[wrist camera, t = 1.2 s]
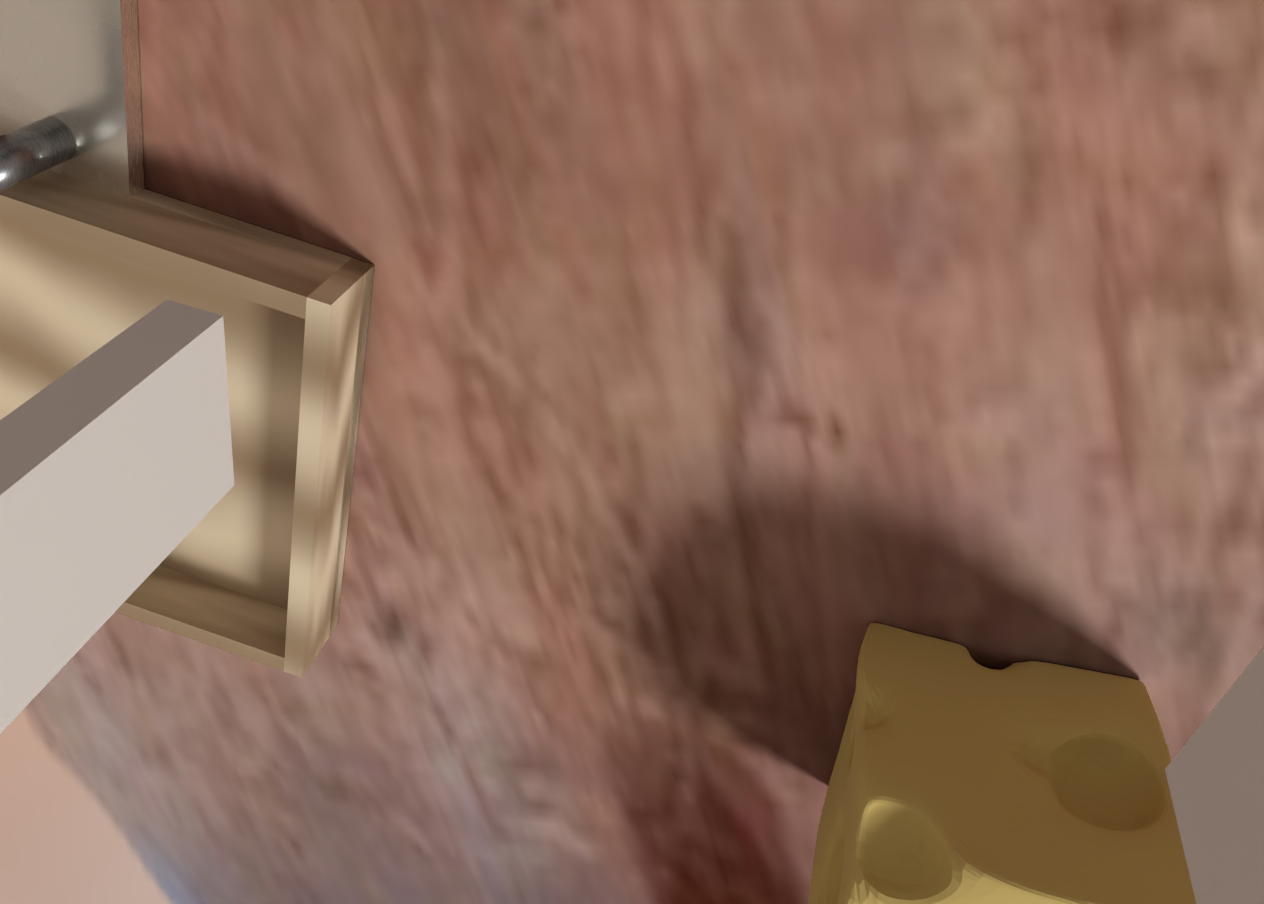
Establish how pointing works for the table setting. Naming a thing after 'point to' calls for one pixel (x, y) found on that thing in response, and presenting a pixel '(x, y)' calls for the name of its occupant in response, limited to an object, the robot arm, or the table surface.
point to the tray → (257, 388)
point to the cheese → (995, 785)
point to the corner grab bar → (71, 92)
